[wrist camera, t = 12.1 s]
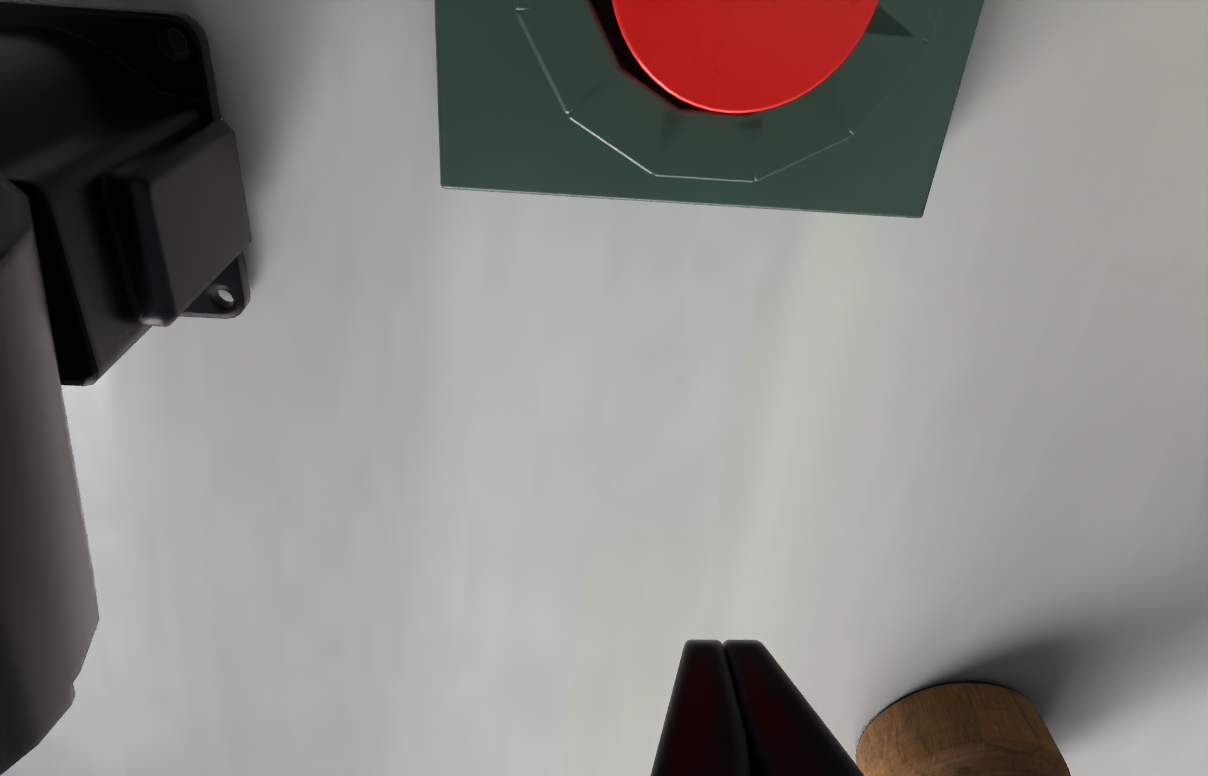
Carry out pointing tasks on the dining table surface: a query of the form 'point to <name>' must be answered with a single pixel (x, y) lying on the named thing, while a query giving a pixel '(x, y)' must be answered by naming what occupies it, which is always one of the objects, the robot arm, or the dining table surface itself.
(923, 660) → the dining table surface
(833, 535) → the dining table surface
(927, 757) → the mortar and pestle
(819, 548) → the dining table surface
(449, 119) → the button block
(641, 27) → the button
